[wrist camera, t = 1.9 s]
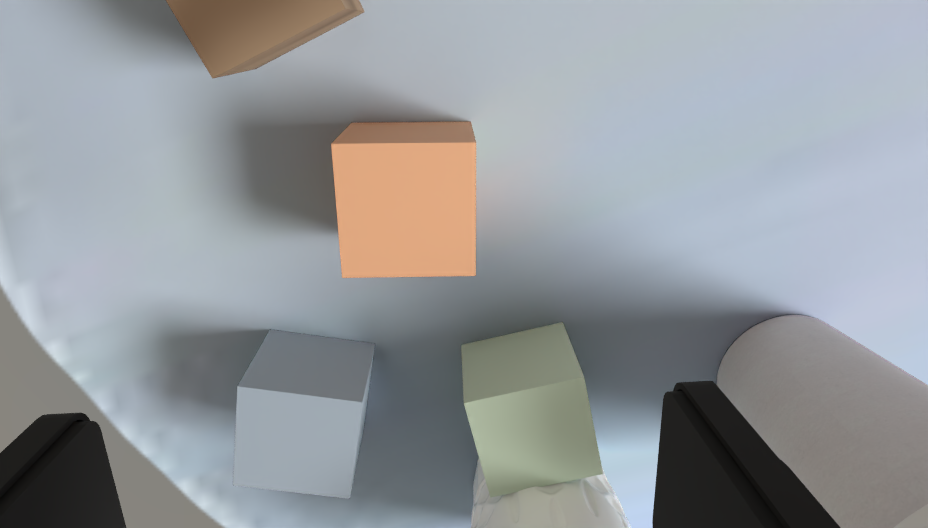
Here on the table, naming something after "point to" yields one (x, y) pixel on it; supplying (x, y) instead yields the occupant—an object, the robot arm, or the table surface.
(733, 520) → the robot arm
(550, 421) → the sage block
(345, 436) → the slate block
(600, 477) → the white cup
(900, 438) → the coffee cup
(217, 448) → the table surface
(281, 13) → the walnut block
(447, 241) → the terracotta block
